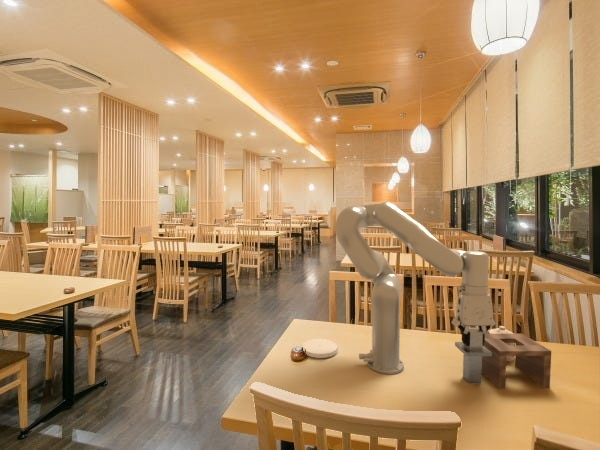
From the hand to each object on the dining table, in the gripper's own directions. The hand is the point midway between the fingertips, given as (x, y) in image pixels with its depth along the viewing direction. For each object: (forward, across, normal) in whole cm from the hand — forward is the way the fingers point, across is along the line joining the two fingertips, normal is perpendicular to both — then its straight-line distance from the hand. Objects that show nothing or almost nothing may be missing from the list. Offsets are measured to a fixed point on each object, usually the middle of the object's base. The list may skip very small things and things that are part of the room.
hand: (472, 343), depth 110 cm
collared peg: (+12, 0, 0) cm, 12 cm away
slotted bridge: (+12, +14, +2) cm, 19 cm away
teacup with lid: (+13, +20, +18) cm, 30 cm away
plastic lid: (+13, -49, +22) cm, 55 cm away
